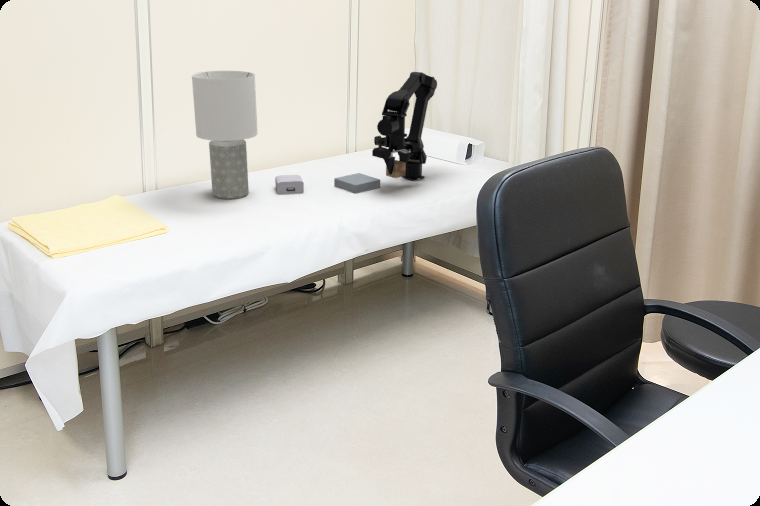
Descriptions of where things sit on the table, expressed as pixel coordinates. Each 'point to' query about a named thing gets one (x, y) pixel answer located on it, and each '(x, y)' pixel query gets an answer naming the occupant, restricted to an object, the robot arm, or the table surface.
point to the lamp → (226, 126)
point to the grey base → (357, 183)
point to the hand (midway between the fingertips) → (395, 172)
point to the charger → (289, 184)
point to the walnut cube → (397, 169)
